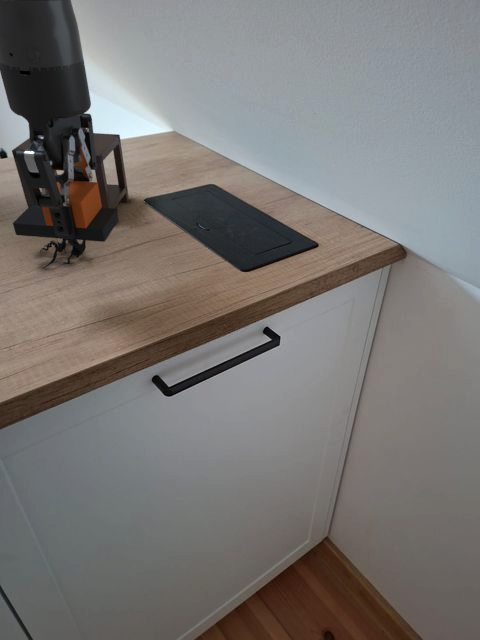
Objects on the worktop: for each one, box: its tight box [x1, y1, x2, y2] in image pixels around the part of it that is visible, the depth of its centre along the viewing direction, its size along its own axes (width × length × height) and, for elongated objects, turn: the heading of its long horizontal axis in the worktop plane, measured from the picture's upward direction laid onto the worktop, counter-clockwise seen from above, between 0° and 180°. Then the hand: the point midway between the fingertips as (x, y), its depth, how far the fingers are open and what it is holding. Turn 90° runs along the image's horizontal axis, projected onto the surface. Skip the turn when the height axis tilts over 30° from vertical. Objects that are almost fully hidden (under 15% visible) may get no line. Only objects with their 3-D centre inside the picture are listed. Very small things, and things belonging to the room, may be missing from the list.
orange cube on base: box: [12, 181, 120, 243], centre depth 55 cm, size 10×6×4 cm, turn 86°
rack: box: [11, 132, 130, 209], centre depth 85 cm, size 14×11×12 cm
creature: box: [39, 238, 87, 269], centre depth 74 cm, size 8×5×8 cm
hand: (76, 223), depth 56 cm, fingers closed on orange cube on base, 5 cm apart
